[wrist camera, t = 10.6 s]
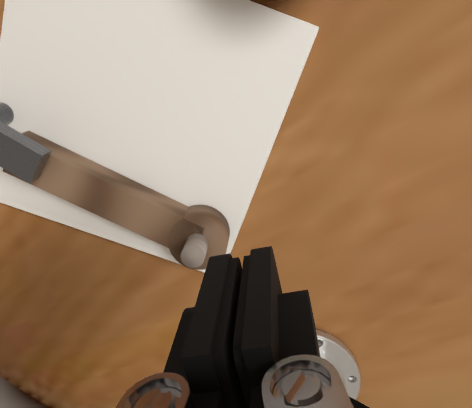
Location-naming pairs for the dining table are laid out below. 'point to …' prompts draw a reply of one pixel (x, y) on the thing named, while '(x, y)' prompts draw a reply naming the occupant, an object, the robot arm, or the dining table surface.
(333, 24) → the dining table surface
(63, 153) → the walnut link
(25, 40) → the pintle board
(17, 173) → the block
